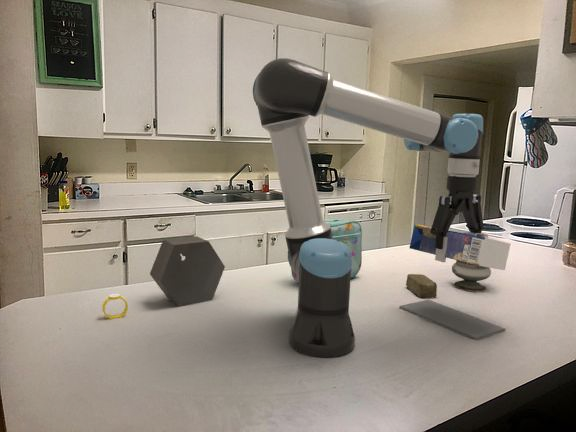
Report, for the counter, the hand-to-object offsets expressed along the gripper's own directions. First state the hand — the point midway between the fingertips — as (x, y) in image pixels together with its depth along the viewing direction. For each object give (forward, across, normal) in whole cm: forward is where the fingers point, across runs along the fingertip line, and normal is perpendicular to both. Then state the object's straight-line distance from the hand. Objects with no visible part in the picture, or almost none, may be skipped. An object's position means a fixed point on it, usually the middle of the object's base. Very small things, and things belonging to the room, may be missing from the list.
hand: (455, 258), depth 127 cm
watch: (+17, -77, +42) cm, 89 cm away
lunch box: (+17, -9, +43) cm, 47 cm away
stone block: (+17, +10, +20) cm, 28 cm away
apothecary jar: (+17, +30, +16) cm, 38 cm away
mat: (+17, 0, 0) cm, 17 cm away
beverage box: (-4, 0, -12) cm, 12 cm away
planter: (+17, -56, +46) cm, 74 cm away
